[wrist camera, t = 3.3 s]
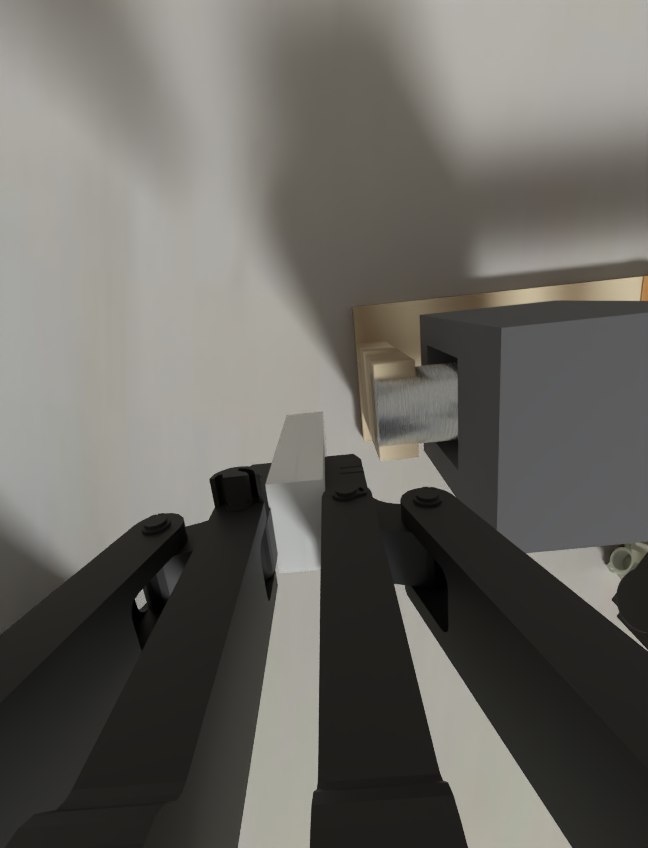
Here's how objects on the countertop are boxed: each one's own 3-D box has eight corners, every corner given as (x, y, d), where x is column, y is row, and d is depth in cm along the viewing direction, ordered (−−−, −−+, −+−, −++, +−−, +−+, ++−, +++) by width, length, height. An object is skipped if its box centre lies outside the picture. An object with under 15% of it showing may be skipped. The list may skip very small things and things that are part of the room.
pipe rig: (362, 437, 33) (383, 503, 22) (352, 307, 30) (369, 311, 19) (734, 400, 32) (938, 450, 21) (761, 263, 29) (1012, 243, 18)
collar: (424, 450, 27) (496, 555, 16) (419, 314, 24) (501, 327, 13) (547, 438, 27) (707, 536, 16) (555, 300, 24) (752, 301, 13)
